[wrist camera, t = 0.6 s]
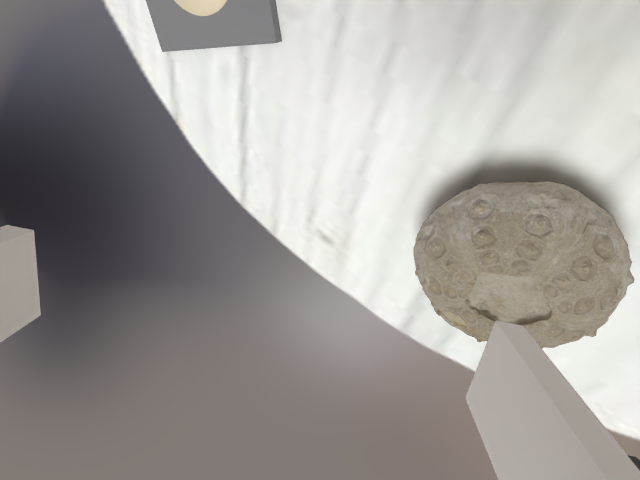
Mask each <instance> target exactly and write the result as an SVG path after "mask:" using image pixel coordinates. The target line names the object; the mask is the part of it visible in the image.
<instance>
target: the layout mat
mask: <svg viewBox="0 0 640 480" xmlns="http://www.w3.org/2000/svg"><path fill="white" fill-rule="evenodd" d="M146 2H147V5H148V9H149V12H150V15H151V18H152V21H153V24H154V27H155V30H156V33H157V37H158V40H159V43H160V46H161V49H162V52H166V51H179V50H191V49H204V48H217V47H230V46H242V45H255V44H268V43H277V42H281V41H282V40H281V34H280V28H279V21H278V15H277V9H276V2H275V0H146Z"/></svg>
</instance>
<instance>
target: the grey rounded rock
mask: <svg viewBox="0 0 640 480" xmlns="http://www.w3.org/2000/svg"><path fill="white" fill-rule="evenodd" d="M414 260H415V266H416V271H415V274H416V275H417V276H418V278H419V281H420V284H421V285H422V287H423V290H424V292H425V294H426V295H427V297H428V298H429V299H430V301H431V304H432V306H433V308H434V310H435V312H436V313H437V314H438V315H439V316H441V317H442V318H443V319H444V320H445V321H446V322H447V323H449V324H450V325H451V326H454V327H456V328H458V329H460V330H461V331H463V332H464V333H466V334H467V335H469V336H472V337H475V338H476V339H477V341H478V342H481V341H488V339H489V337H490V334H491V332H492V329H493V326H494V324H495V321H502V322H507V323H512V324H517V325H522V326H524V328H525V329H526V330H527V331H528V333H529V334H530V335H531V336H532V338H533V339H534V340H535V341H536V342H537V344H538V345H539V346H540V347H541V349H542V348H543V347H548V348H554V347H556V346H559V345H562V344H566V343H569V342H573V341H577V340H579V339H580V338H582V337H583V336H585V335H586V336H591V337H594V336H596V332H597V329H598V328H600V327H601V326H603V325H604V324H605V323H606V322H607V321H608V317H609V316H610V315H611V314H612V313H613V311H614V310H615V309H616V307H617V305H618V304H619V302H620V301H621V300H622V298H623V297H624V296H625V294H626V290H627V286H628V285H630V284H632V283H634V278H633V276H632V274H631V272H630V267H631V264H632V261H631V259H630V256H629V250H628V244H627V242H626V241H625V239H624V237H623V234H622V233H621V231H620V229H619V228H618V226H617V225H616V223H615V220H614V218H613V216H612V215H610V214H609V213H608V212H607V211H606V210H604V209H602V208H601V207H600V206H598V205H597V204H596V203H594V202H593V201H591V200H590V199H588V198H587V197H586V196H584V195H583V194H582V193H581V192H580V191H577V190H575V189H572V188H571V187H569V186H567V185H564V184H558V183H554V182H551V181H548V182H534V183H530V182H513V183H503V182H495V183H489V184H481V183H480V184H478V185H477V186H475V187H473V188H471V189H469V190H464V191H463V192H461V193H459V194H458V195H456V196H455V197H453V198H451V199H450V200H448V201H447V202H445V203H444V204H443V205H441V206H440V207H438V208H436V210H435V211H434V212H433V213H432V214H431V215H430V216H429V218H428V219H427V220H426V221H425V223H424V224H423V225H422V227H421V229H420V231H419V233H418V234H417V237H416V243H415V246H414Z"/></svg>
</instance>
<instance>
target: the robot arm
mask: <svg viewBox="0 0 640 480" xmlns="http://www.w3.org/2000/svg"><path fill="white" fill-rule="evenodd" d="M40 315H41V314H40V301H39V289H38V277H37V264H36V251H35V239H34V230H30V229H24V228H19V227H14V226H9V225H6V226H3V227H0V342H1V341H3V340H5V339H6V338H7V337H9V336H10V335H12V334H13V333H15V332H16V331H18V330H19V329H21V328H22V327H24V326H25V325H27V324H28V323H30V322H31V321H32V320H34V319H35V318H37V317H38V316H40ZM466 401H467V403H468V406H469V408H470V411H471V413H472V416H473V418H474V421H475V423H476V425H477V428H478V430H479V433H480V435H481V438H482V440H483V443H484V445H485V448H486V450H487V453H488V455H489V457H490V460H491V462H492V465H493V467H494V470H495V472H496V475H497V477H498V479H499V480H640V460H639V459H637V458H636V457H633V456H628V455H627V454H626V453H625V452H624V451H623V449H622V448H621V447H620V446H619V445H618V443H617V442H616V441H615V439H614V438H613V437H612V436H611V434H610V433H609V432H608V431H607V429H606V428H605V427H604V426H603V424H602V423H601V422H600V421H599V420H598V418H597V417H596V416H595V415H594V413H593V412H592V411H591V410H590V408H589V407H588V406H587V405H586V403H585V402H584V401H583V400H582V398H581V397H580V396H579V395H578V393H577V392H576V391H575V390H574V388H573V387H572V386H571V385H570V383H569V382H568V381H567V380H566V379H565V377H564V376H563V375H562V374H561V372H560V371H559V370H558V369H557V367H556V366H555V365H554V364H553V362H552V361H551V360H550V359H549V357H548V356H547V355H546V354H545V352H544V351H543V350H542V349H541V347H540V346H539V345H538V344H537V342H536V341H535V340H534V339H533V338H532V336H531V335H530V334H529V333H528V331H527V330H526V329H525V328H524V326H522V325H517V324H512V323H507V322H502V321H495V324H494V326H493V329H492V332H491V334H490V337H489V339H488V342H487V344H486V347H485V349H484V352H483V354H482V357H481V360H480V362H479V365H478V367H477V370H476V372H475V375H474V377H473V380H472V383H471V385H470V388H469V390H468V393H467V395H466Z"/></svg>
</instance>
